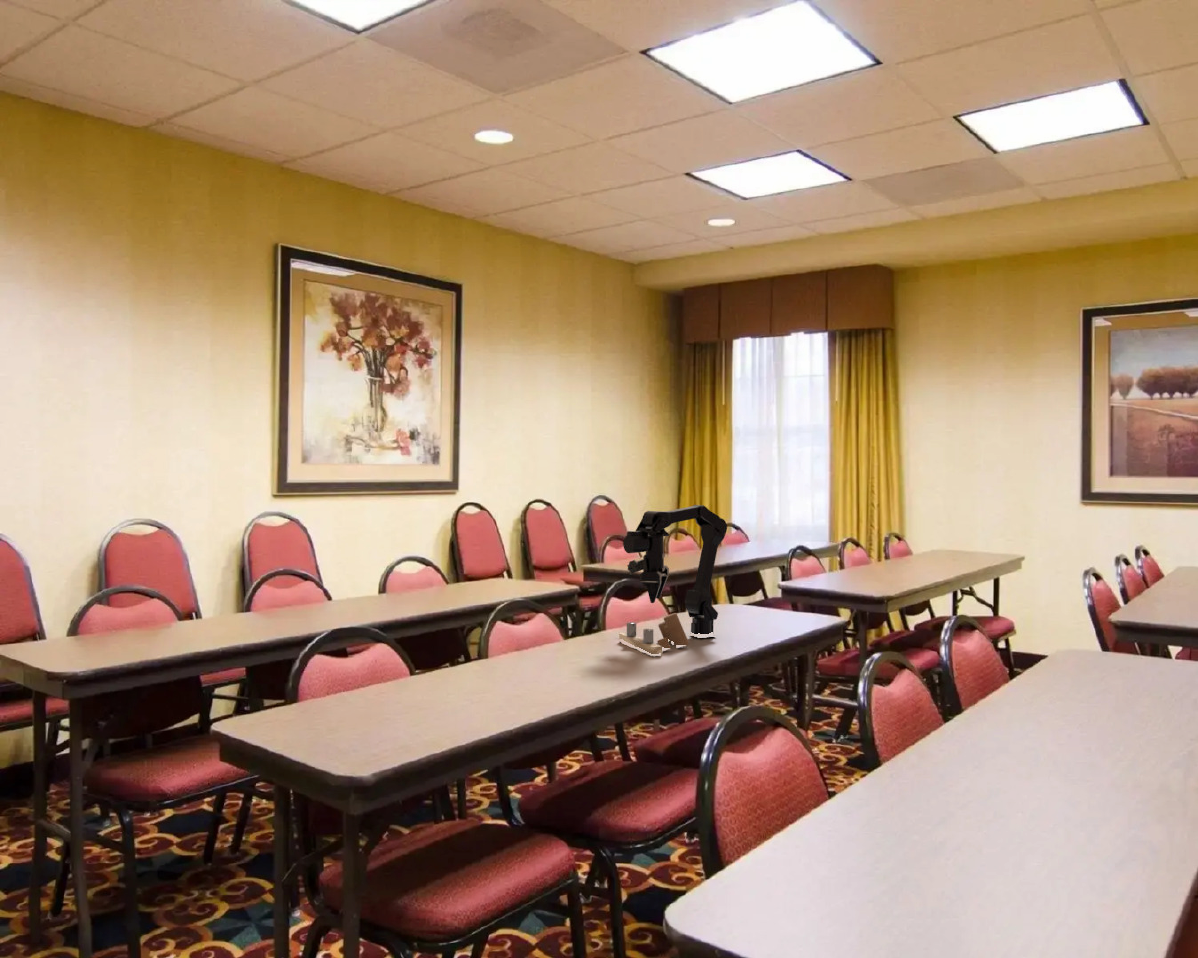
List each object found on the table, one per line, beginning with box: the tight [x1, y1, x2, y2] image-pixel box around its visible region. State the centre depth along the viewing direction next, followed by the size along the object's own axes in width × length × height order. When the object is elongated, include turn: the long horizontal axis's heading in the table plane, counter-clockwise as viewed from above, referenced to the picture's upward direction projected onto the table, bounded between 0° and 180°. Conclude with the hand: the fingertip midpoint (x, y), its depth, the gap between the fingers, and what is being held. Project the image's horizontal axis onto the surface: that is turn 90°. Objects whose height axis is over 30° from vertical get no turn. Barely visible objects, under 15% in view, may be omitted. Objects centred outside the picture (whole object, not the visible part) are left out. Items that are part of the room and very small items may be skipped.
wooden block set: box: [657, 612, 690, 649], centre depth 286 cm, size 18×9×10 cm, turn 178°
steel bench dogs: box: [626, 622, 654, 644], centre depth 281 cm, size 3×15×7 cm, turn 23°
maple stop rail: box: [618, 632, 663, 654], centre depth 281 cm, size 3×24×3 cm, turn 23°
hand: (655, 600), depth 291 cm, fingers open, 9 cm apart
